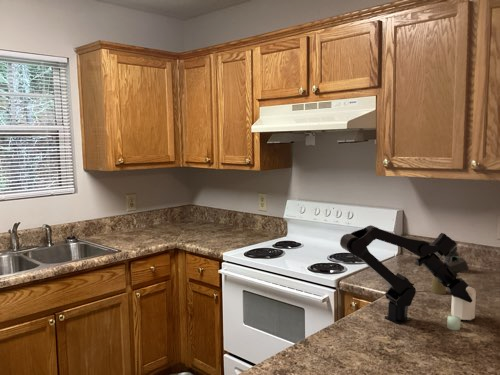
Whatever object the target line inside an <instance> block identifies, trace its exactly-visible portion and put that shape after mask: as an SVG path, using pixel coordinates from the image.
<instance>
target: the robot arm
mask: <svg viewBox="0 0 500 375" xmlns="http://www.w3.org/2000/svg"><path fill="white" fill-rule="evenodd" d="M375 240H379V241H381V242H384V243H387V244H390V245H394V246H396V247H400V248H402V249H404V250H405V251H406V252H409V253H411V254H413V255H414V256H418V257H414V260H415V261H414V265H415V266H417V267H422V265H423V266H424V267H425V269H427V270H428V271H429V272H430V273H431V274H432V275H433V276H435V278H436V279H437V280H438V281H439V282H440V283H442V285H443V286H445V287H446V291H447V292H448V293H449V294H450V295H451V297H452V296H453V297H458V298H460V299H463V300H465V301H467V302H470V303H471V302H472V301H473V300H472V299H471V297H470V296H469V294H468V292H467V291H466V288H467V287H468V286H469V284H468V283H467V282H466V281H465V279H463V278H461V277H459V278H458V275H459V273H462V272H464V271H469V270H470V268H469V266H468V263H467V261H466V259H465V258H463V257H459V259H458V258H457V257H455V256H452V257H450V261H449V263H447V264H446V263H445V262H444V260H442V259H441V258H442V257H443V258H444V257H446V256H447V255H448V254H449V253H450V252H451V251H452V250H453V249H454V248H455V247H456V246H457V247H458V244H457V242H456V241H455V240H453V239H452V238H451V237H449V236H448V235H447V234H446V233H444V232H441V233H440V234H439V235H438V236H437V237H436V238H435V239H434V240H433V241H432V242H428V241H426V240H423V239H421V238H418V237H413V236H403V235H400V234H396V233H394V232H390V231H387V230H384V229H381V228H379V227H377V226H375V225H368V226H366V227H363V228H361V229H359V230H355V231H352V232H351V233H346V234H343V235H342V236H341V238H340V240H339V242H340V243H339V244H340V245H339V246H340V247H341V248H342V249H343V250H345V251H347V253H350V254H352V255H354V256H355V257H357V258H358V259H360V260H361V261H362V262H363V263H364V264H365V265H367V266H368V268H370V270H372V271H373V272H375V274H377V275H378V276H379V277H380V278H382V280H384V282H385V283H386V284H387V287H388V289H387V291H386V292H385V293H384V296H385V298H386V299H387V300H388V301H389V302H388V311H387V313H388V314H387V315H385V316H384V319H386V320H389V321H391V322H393V323H395V324H403V323H407V322H409V321H411V317H408V309H409V308H408V307H410V306H411V305H412V302H413V299H414V297H415V296H416V294H417V293H416V291H417V290H416V288H415V284H414V283H413V282H411V281H410V280H409V279H408V278H407V277H406V276H404V275H402V274H401V273H399V272H397V273H396V274H394V273H393V271H391V269H389V268H388V266H386V265H384V263H382V262H381V261H380V260H379V259H378V258H377V257H376V256H374V255H373V253H371V252H370V250H369V248H368V247H369V245H371V244H372V243H373V241H375Z"/></svg>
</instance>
